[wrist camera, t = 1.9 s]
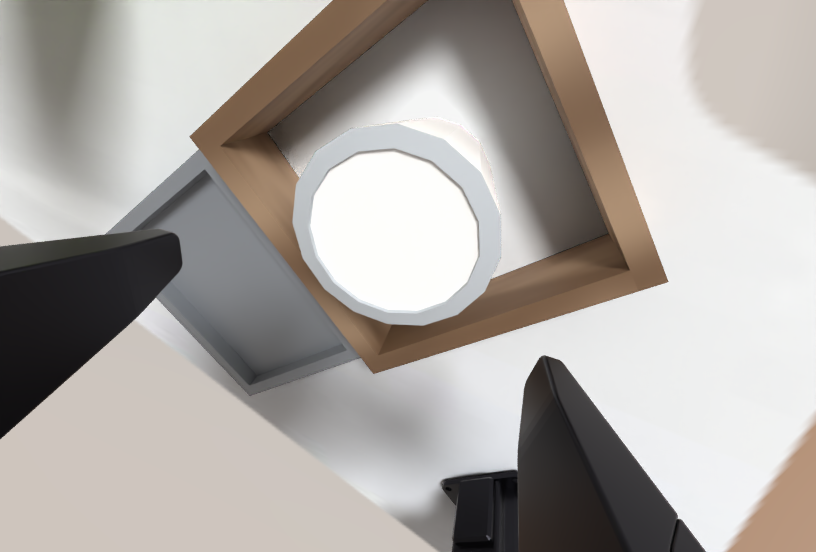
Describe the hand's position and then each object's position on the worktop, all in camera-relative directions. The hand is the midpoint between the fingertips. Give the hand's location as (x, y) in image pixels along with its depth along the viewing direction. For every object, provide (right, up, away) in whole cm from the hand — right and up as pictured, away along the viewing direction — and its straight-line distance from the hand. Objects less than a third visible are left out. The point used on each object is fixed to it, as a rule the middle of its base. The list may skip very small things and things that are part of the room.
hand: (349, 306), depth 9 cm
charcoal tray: (-9, 0, +15) cm, 17 cm away
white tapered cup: (+3, +5, +9) cm, 11 cm away
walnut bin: (+2, +5, +9) cm, 11 cm away
